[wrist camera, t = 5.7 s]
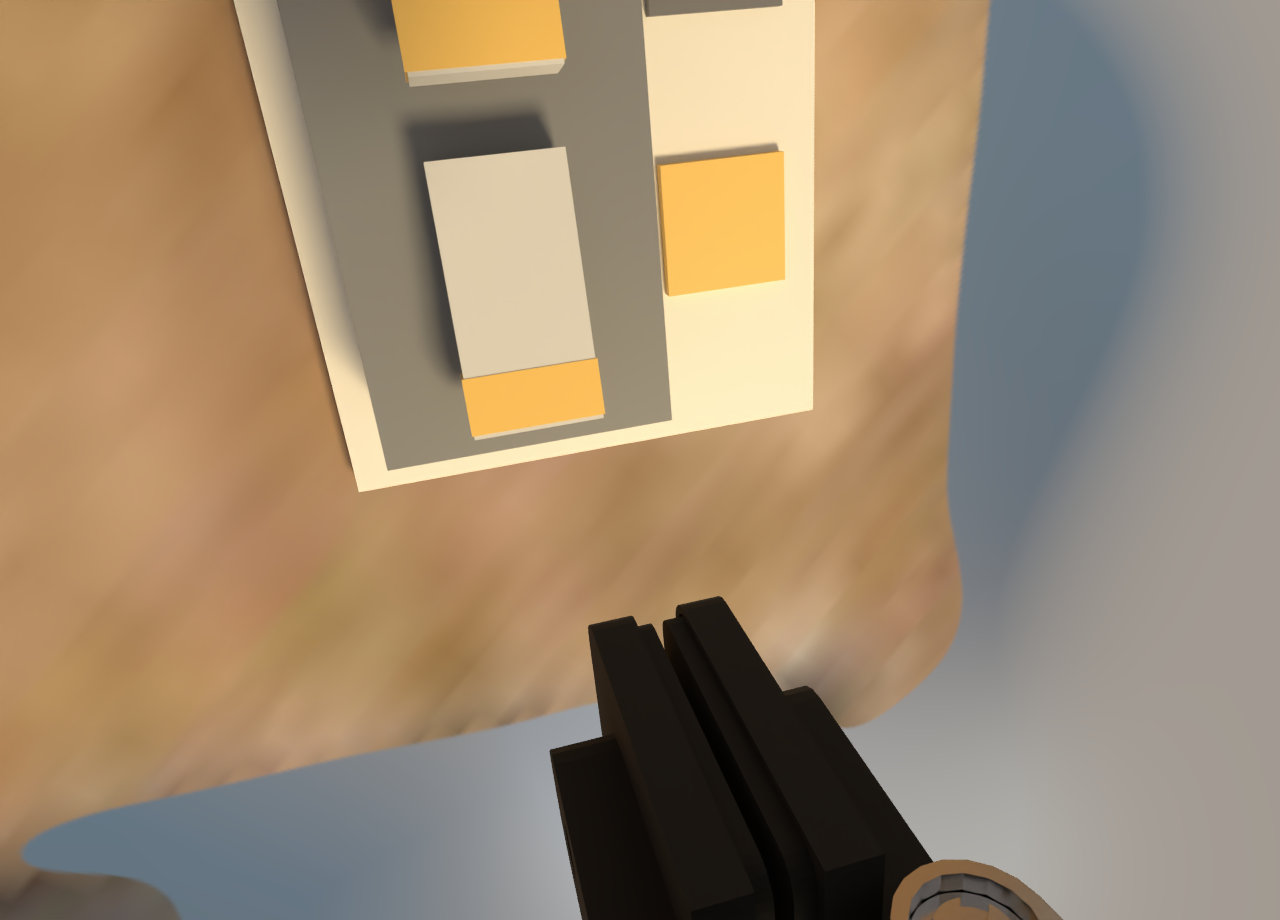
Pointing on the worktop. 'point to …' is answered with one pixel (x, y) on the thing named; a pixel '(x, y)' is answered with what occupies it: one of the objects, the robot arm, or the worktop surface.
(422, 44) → the block
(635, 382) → the switch unit
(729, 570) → the worktop surface
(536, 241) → the plate
